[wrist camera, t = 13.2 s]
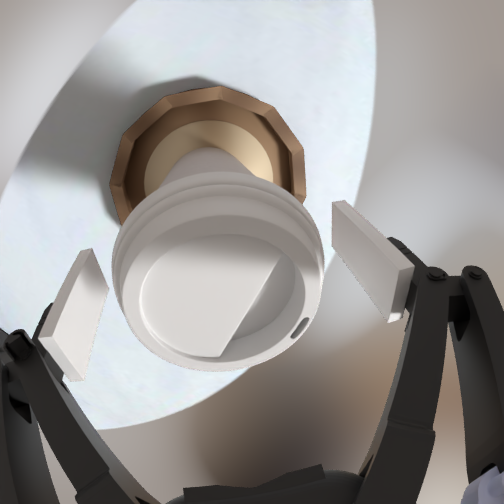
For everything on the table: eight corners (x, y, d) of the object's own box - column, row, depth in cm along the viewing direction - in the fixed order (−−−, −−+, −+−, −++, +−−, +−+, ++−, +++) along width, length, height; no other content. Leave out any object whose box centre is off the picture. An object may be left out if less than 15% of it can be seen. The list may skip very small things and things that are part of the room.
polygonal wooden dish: (144, 275, 29) (142, 286, 27) (97, 112, 20) (90, 115, 19) (303, 245, 30) (309, 254, 28) (291, 77, 22) (298, 77, 20)
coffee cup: (207, 257, 28) (223, 402, 15) (125, 188, 23) (60, 311, 11) (288, 186, 26) (376, 297, 13) (209, 103, 21) (229, 126, 8)
